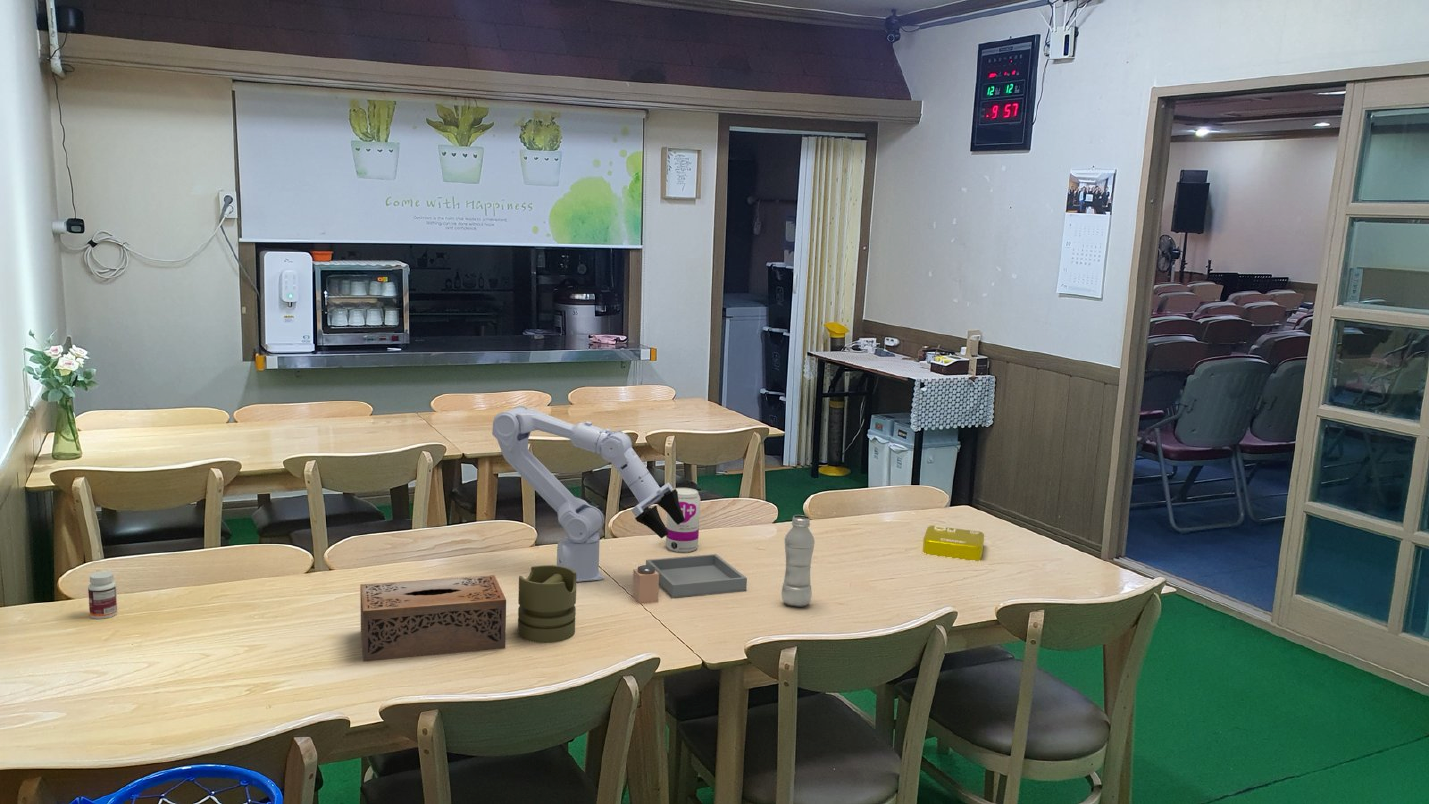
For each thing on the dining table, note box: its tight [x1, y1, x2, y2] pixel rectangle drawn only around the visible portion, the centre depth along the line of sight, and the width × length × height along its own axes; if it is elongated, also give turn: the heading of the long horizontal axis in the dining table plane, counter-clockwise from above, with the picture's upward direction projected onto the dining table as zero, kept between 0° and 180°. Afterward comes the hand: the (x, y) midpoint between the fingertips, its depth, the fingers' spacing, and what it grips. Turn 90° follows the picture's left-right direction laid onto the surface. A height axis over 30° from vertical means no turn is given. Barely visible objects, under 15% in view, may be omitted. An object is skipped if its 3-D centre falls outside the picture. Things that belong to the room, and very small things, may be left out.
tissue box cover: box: [359, 574, 507, 663], centre depth 202 cm, size 26×14×10 cm, turn 110°
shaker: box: [631, 564, 660, 605], centre depth 230 cm, size 4×4×7 cm
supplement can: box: [665, 487, 701, 553], centre depth 266 cm, size 8×8×15 cm
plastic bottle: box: [781, 514, 816, 608], centre depth 230 cm, size 6×7×20 cm
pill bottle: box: [87, 570, 118, 620], centre depth 206 cm, size 5×5×8 cm
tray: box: [645, 553, 748, 599], centre depth 243 cm, size 18×18×3 cm
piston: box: [517, 564, 577, 644], centre depth 209 cm, size 11×12×11 cm
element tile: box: [922, 525, 985, 562], centre depth 277 cm, size 15×15×5 cm
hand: (673, 529), depth 236 cm, fingers open, 7 cm apart
